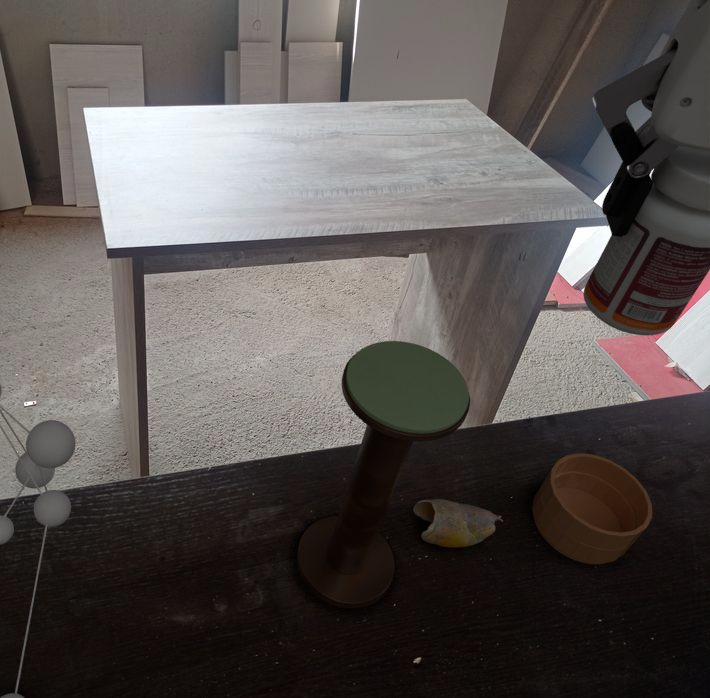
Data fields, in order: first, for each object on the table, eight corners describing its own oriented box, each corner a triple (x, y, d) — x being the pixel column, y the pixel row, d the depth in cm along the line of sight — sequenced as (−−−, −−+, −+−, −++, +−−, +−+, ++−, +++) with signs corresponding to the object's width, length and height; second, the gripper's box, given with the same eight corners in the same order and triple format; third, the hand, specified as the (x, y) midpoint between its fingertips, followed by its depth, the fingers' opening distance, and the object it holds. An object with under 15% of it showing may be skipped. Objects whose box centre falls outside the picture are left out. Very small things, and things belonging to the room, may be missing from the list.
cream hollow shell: (467, 503, 73) (498, 495, 70) (474, 549, 72) (507, 543, 68) (402, 502, 70) (432, 494, 66) (409, 550, 69) (439, 544, 65)
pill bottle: (689, 320, 50) (788, 175, 42) (639, 351, 47) (735, 201, 39) (612, 272, 53) (691, 130, 45) (561, 298, 50) (636, 151, 43)
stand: (410, 561, 68) (492, 386, 51) (357, 629, 62) (430, 458, 46) (332, 505, 72) (386, 326, 55) (276, 564, 66) (317, 386, 50)
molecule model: (107, 486, 73) (151, 380, 61) (15, 754, 56) (50, 684, 43) (-29, 440, 71) (-13, 322, 59) (-169, 704, 54) (-189, 615, 41)
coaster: (488, 386, 51) (490, 382, 51) (429, 455, 46) (430, 451, 46) (387, 328, 55) (388, 324, 55) (321, 386, 50) (322, 382, 50)
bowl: (638, 523, 73) (665, 491, 69) (606, 585, 68) (633, 554, 64) (552, 470, 77) (572, 438, 73) (515, 525, 72) (535, 493, 68)
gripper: (686, -96, 31) (537, 242, 44) (1114, -36, 30) (834, 297, 42) (651, -127, 37) (526, 181, 49) (1011, -78, 35) (790, 228, 48)
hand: (670, 232), depth 46 cm, fingers closed on pill bottle, 6 cm apart
